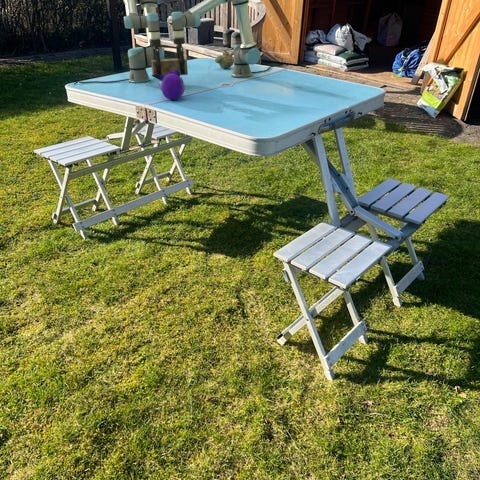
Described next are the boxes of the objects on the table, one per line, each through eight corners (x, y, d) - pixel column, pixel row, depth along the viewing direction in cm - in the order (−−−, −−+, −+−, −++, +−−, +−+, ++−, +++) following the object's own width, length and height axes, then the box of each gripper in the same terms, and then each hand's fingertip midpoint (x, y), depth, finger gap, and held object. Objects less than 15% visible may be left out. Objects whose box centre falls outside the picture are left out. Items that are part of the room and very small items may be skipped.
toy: (175, 91, 304) (184, 105, 283) (149, 87, 296) (157, 101, 276) (179, 67, 296) (189, 80, 275) (153, 62, 288) (161, 75, 268)
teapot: (218, 70, 370) (218, 51, 363) (212, 68, 379) (211, 49, 371) (241, 68, 380) (240, 48, 372) (234, 66, 388) (233, 47, 381)
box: (154, 77, 305) (152, 61, 300) (152, 75, 312) (151, 59, 307) (187, 74, 311) (186, 59, 306) (185, 72, 318) (184, 57, 313)
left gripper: (162, 40, 290) (166, 77, 302) (158, 36, 308) (161, 71, 319) (151, 40, 288) (155, 77, 300) (147, 37, 306) (151, 72, 317)
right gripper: (187, 38, 294) (190, 75, 306) (181, 35, 312) (184, 70, 323) (176, 39, 292) (179, 75, 304) (170, 36, 310) (173, 70, 321)
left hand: (158, 74), depth 309 cm, fingers closed on box, 8 cm apart
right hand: (181, 72), depth 313 cm, fingers closed on box, 8 cm apart
